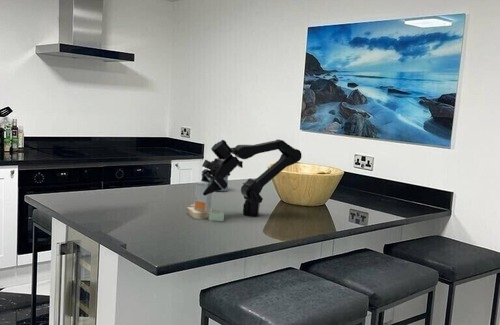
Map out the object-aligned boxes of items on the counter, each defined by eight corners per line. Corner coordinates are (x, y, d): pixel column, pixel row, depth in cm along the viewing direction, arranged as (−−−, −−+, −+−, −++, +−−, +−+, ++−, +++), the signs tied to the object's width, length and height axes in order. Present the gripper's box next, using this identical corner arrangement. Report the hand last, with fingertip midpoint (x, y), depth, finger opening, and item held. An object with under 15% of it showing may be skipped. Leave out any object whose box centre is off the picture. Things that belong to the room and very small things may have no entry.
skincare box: (193, 209, 209) (195, 181, 207) (199, 207, 213) (201, 180, 211) (205, 211, 206) (207, 183, 205) (211, 210, 210) (213, 182, 209)
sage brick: (222, 219, 207) (222, 212, 207) (223, 221, 204) (223, 214, 204) (208, 219, 206) (208, 212, 205) (209, 220, 203) (209, 213, 202)
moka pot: (234, 190, 274) (237, 155, 272) (218, 193, 261) (221, 156, 259) (220, 187, 279) (223, 153, 277) (204, 190, 266) (207, 154, 264)
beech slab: (208, 212, 216) (209, 207, 216) (216, 218, 207) (216, 212, 207) (186, 212, 212) (187, 207, 212) (193, 218, 203) (194, 212, 203)
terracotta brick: (194, 209, 220) (195, 203, 220) (201, 210, 220) (201, 204, 219) (189, 212, 215) (189, 205, 214) (195, 213, 214) (195, 206, 214)
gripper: (207, 150, 216) (181, 175, 213) (222, 156, 200) (194, 183, 196) (222, 168, 221) (197, 193, 218) (238, 176, 204) (211, 202, 201)
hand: (200, 192), depth 208 cm, fingers open, 9 cm apart
